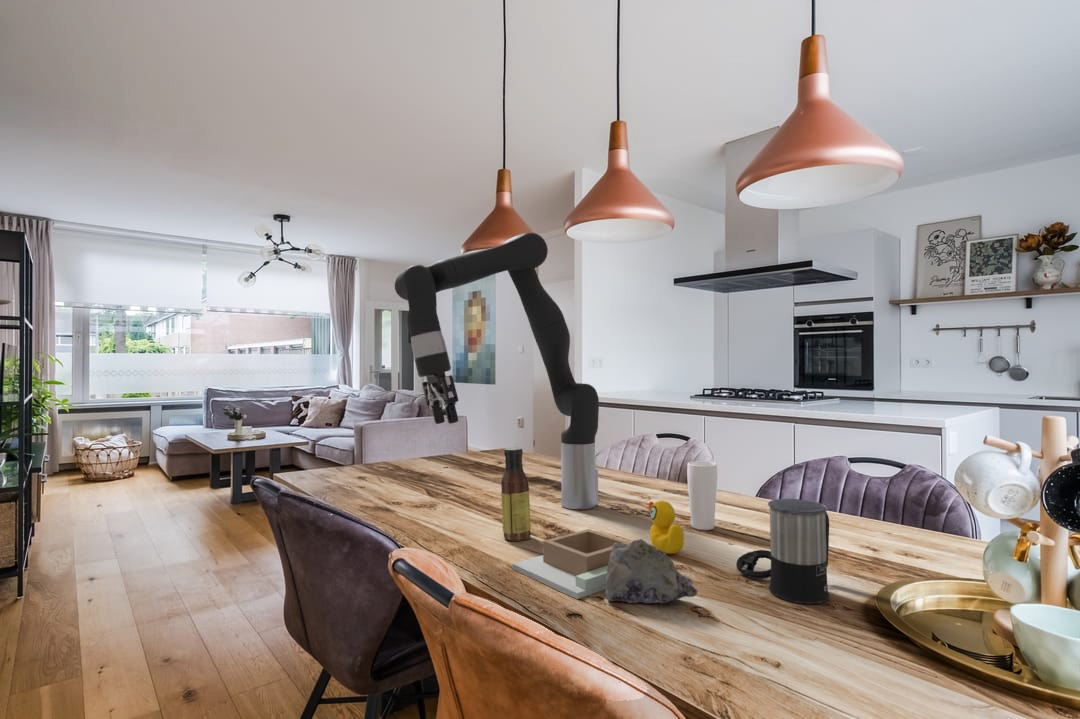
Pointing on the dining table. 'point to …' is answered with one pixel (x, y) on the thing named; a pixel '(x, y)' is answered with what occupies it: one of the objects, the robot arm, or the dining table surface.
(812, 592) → the milk frother
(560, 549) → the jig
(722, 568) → the dining table surface
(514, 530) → the sauce bottle
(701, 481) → the white tumbler
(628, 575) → the mineral rock
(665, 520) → the duckling
